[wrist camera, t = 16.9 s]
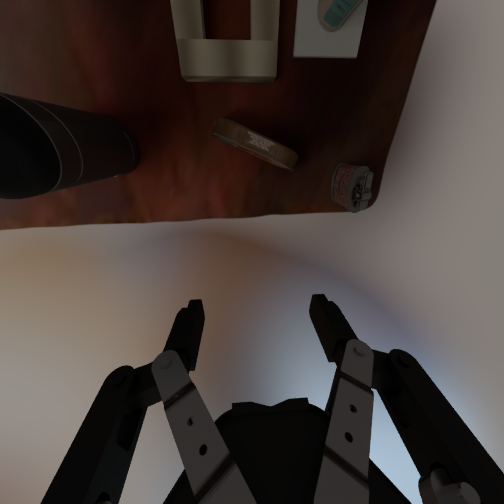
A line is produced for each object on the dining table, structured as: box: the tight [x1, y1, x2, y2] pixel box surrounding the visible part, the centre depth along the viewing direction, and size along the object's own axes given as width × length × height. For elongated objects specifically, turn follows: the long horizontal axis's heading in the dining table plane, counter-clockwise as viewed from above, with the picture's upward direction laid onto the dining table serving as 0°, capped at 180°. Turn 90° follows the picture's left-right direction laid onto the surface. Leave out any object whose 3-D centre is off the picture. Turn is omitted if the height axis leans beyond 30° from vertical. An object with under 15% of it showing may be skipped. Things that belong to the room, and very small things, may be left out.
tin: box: [211, 117, 298, 171], centre depth 31 cm, size 15×3×8 cm, turn 68°
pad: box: [293, 0, 368, 58], centre depth 26 cm, size 10×10×1 cm
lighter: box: [331, 163, 373, 213], centre depth 34 cm, size 8×3×10 cm, turn 7°
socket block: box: [170, 0, 280, 83], centre depth 25 cm, size 14×14×3 cm
